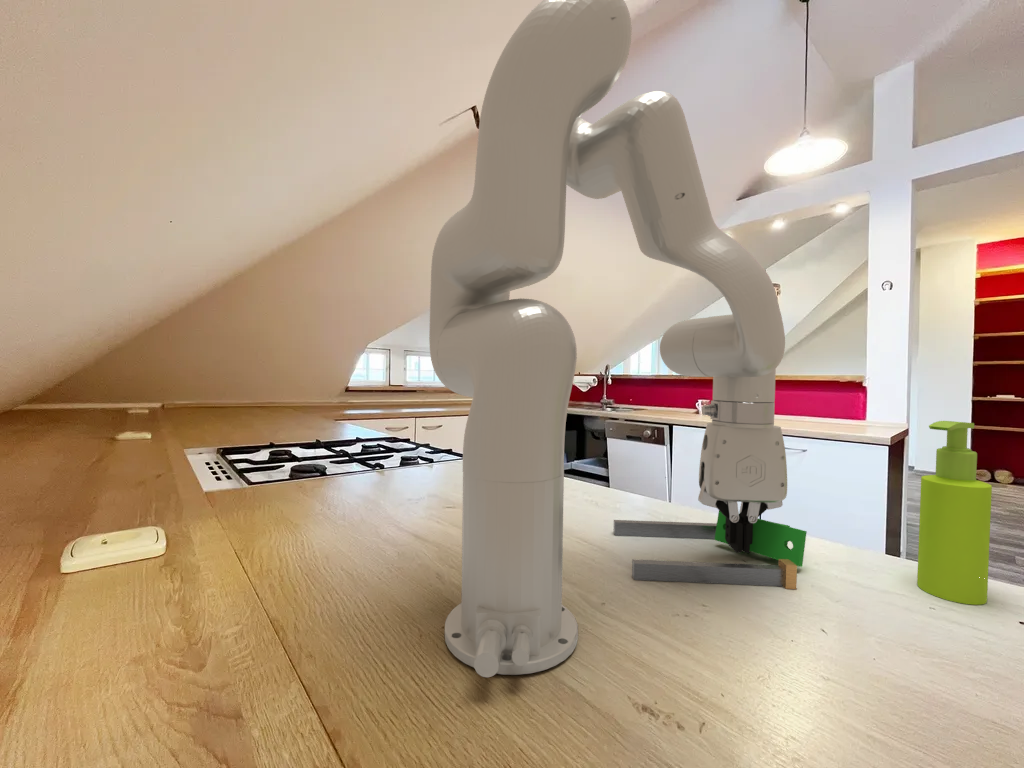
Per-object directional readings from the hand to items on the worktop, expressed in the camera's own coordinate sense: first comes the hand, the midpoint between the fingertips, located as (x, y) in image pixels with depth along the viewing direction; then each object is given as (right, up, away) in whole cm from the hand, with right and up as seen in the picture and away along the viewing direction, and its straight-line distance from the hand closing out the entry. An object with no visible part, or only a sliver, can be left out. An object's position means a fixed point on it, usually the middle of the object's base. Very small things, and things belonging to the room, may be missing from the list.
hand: (738, 548), depth 62 cm
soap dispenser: (+20, -2, -9) cm, 22 cm away
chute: (-7, -1, +1) cm, 7 cm away
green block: (+3, -1, +1) cm, 4 cm away
